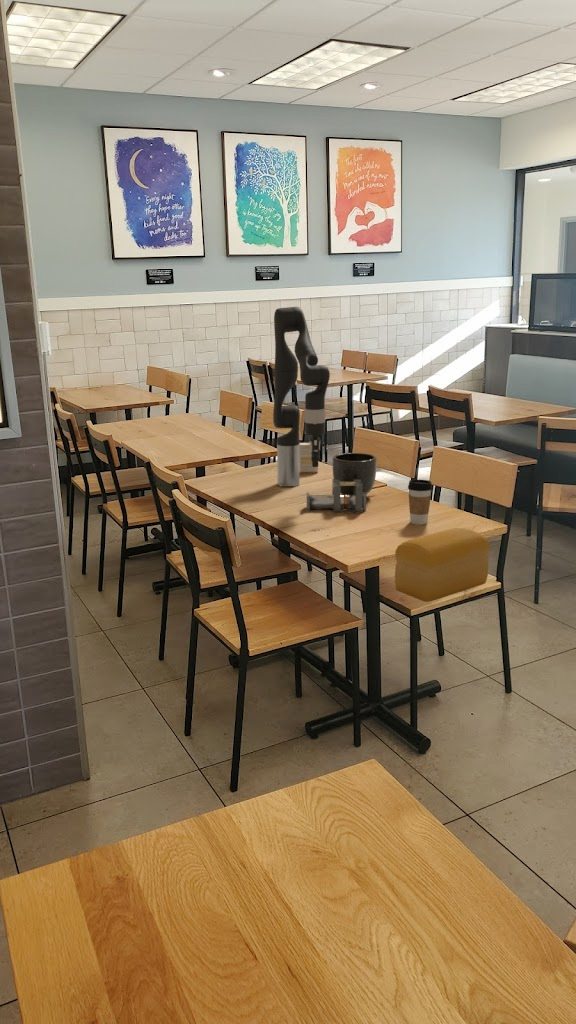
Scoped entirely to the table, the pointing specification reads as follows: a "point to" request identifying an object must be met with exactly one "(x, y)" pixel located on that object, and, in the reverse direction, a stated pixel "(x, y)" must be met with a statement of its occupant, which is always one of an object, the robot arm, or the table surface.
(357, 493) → the hollow square frame
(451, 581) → the bread
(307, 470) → the supplement box
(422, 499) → the coffee cup
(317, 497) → the tube
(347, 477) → the planter
